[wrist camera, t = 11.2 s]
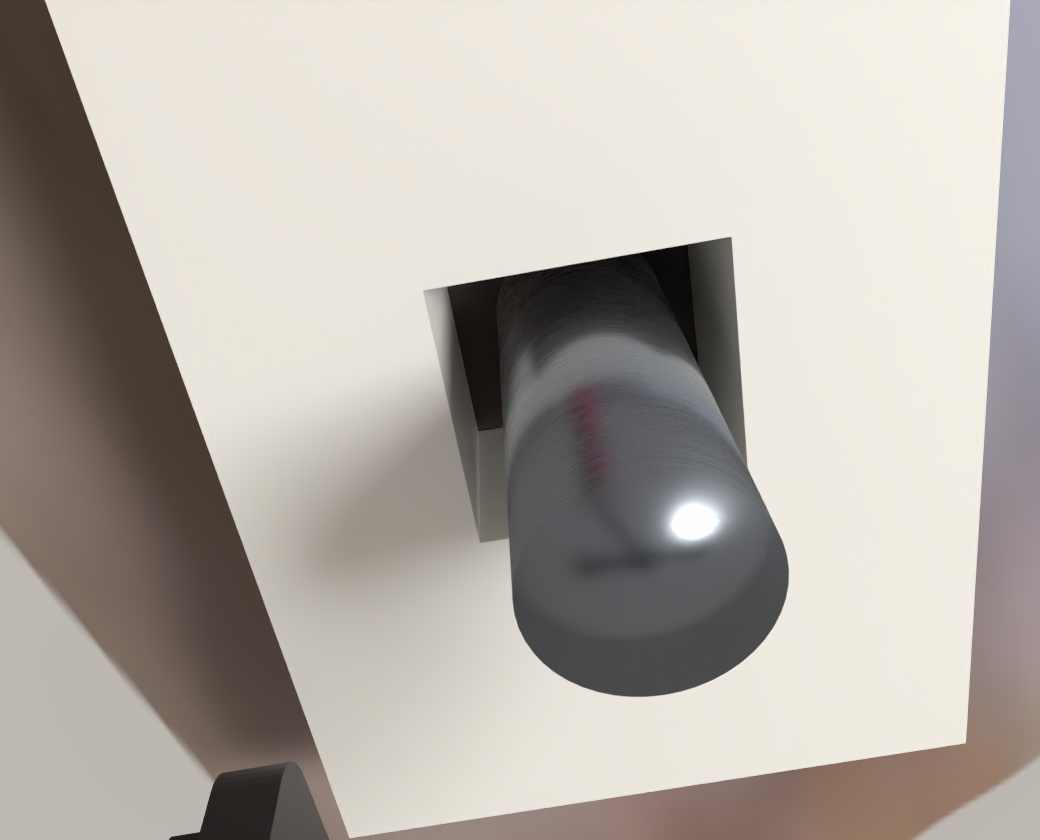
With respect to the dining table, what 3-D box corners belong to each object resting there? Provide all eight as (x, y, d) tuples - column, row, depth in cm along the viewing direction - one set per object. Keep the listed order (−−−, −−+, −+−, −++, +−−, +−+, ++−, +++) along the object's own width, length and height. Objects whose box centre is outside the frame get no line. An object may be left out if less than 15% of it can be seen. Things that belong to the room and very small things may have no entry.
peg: (483, 246, 21) (489, 499, 12) (651, 216, 21) (782, 450, 12) (512, 396, 23) (536, 715, 14) (668, 369, 23) (794, 674, 14)
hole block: (95, -152, 17) (-16, -166, 13) (899, -308, 17) (1032, -372, 13) (367, 697, 27) (349, 838, 23) (890, 613, 26) (965, 743, 22)
